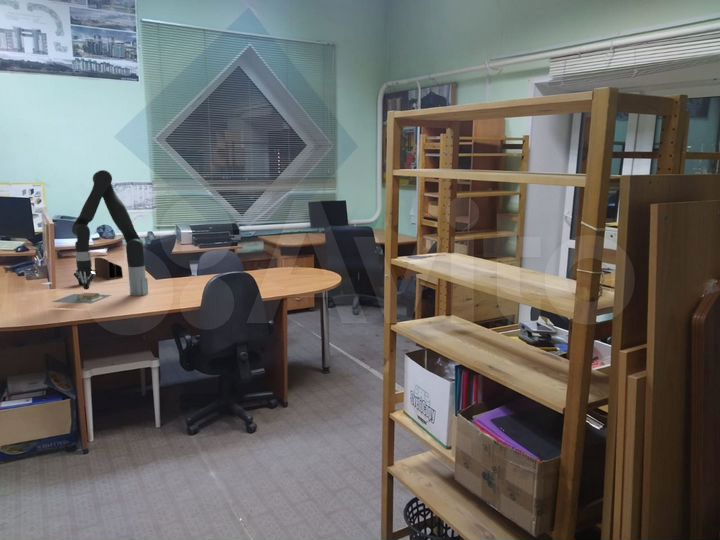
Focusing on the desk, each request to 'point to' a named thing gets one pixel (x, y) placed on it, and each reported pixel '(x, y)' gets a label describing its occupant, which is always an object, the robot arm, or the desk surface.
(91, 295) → the birch tile
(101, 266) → the letter holder
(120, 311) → the desk surface
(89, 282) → the coffee mug
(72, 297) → the rubber mat
